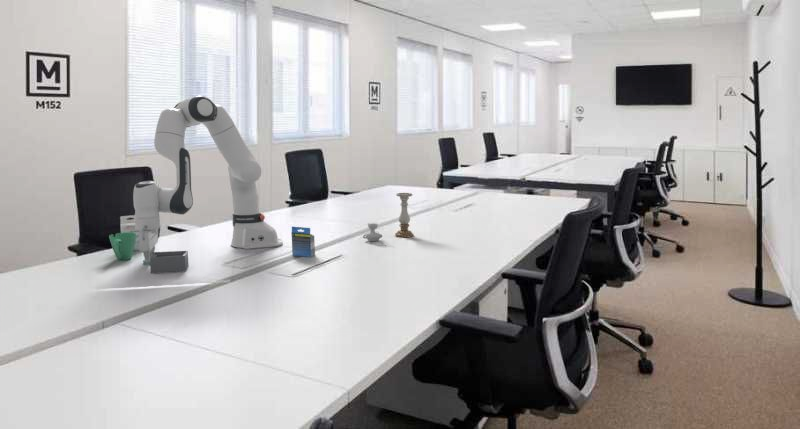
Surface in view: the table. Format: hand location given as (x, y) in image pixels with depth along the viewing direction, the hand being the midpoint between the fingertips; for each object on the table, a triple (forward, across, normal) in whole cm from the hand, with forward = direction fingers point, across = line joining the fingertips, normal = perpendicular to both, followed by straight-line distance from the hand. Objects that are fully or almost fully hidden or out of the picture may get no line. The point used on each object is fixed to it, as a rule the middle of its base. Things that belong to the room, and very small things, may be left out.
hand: (149, 259), depth 240 cm
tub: (+2, -12, -9) cm, 16 cm away
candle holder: (+3, +36, -109) cm, 115 cm away
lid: (+3, 0, -6) cm, 6 cm away
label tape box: (+3, +4, -59) cm, 59 cm away
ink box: (+2, +30, +12) cm, 33 cm away
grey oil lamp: (+3, +26, -92) cm, 96 cm away
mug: (+2, +10, +12) cm, 16 cm away
